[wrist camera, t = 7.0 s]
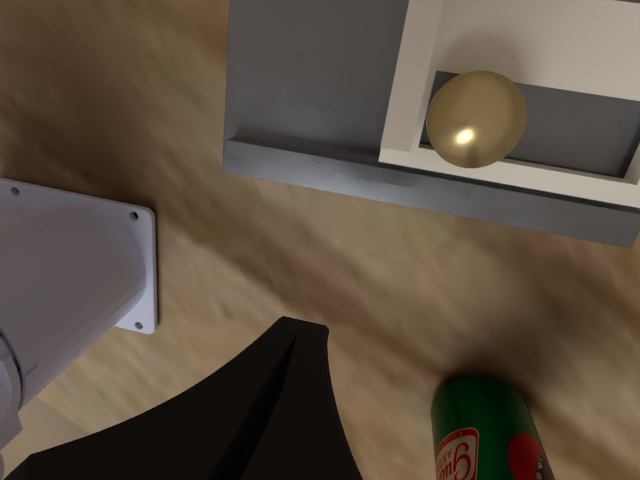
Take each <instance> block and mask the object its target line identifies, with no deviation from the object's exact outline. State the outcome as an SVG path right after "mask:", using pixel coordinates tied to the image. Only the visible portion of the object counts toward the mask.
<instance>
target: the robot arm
mask: <svg viewBox="0 0 640 480" xmlns="http://www.w3.org/2000/svg"><path fill="white" fill-rule="evenodd" d="M17 189H18V190H19V192H18V191H17ZM134 212H136V213H137V214H138V218H136V217H135V216H134ZM139 322H140V323H141V324H142V325H143V326H142V325H141V324H140V323H139ZM113 326H116V327H120V328H125V329H129V330H133V331H137V332H141V333H145V334H152V333H153V332H154V331H155V330H156V329H157V327H158V321H157V279H156V237H155V215H154V213H153V211H152V210H151V209H149V208H147V207H143V206H138V205H133V204H128V203H123V202H118V201H114V200H109V199H104V198H99V197H94V196H89V195H84V194H79V193H74V192H69V191H64V190H60V189H55V188H50V187H45V186H40V185H35V184H30V183H25V182H20V181H15V180H10V179H6V178H0V451H1V450H2V449H3V448H4V447H5V446H6V445H7V444H8V443H9V442H10V441H11V440H12V439H13V438H14V437H15V436H16V435H17V434H19V433H20V432H21V431H22V429H23V427H22V425H21V422H20V420H19V417H18V411H19V410H20V409H22V408H23V407H24V406H25V405H26V404H27V403H28V402H29V401H31V400H32V399H33V398H34V397H35V396H36V395H37V394H38V393H39V392H41V391H42V390H43V389H44V388H45V387H46V386H47V385H48V384H50V383H51V382H52V381H53V380H54V379H55V378H56V377H57V376H59V375H60V374H61V373H62V372H63V371H64V370H65V369H66V368H67V367H69V366H70V365H71V364H72V363H73V362H74V361H75V360H76V359H78V358H79V357H80V356H81V355H82V354H83V353H84V352H85V351H86V350H88V349H89V348H90V347H91V346H92V345H93V344H94V343H95V342H97V341H98V340H99V339H100V338H101V337H102V336H103V335H104V334H105V333H107V332H108V331H109V330H110V329H111V328H112V327H113ZM328 335H329V329H328V328H327V326H325V325H321V324H316V323H312V322H307V321H303V320H299V319H294V318H290V317H285V316H283V317H281V318H279V319H278V320H277V321H276V322H275V323H274V324H273V325H272V326H271V327H270V328H269V329H268V330H267V331H265V332H264V333H263V334H262V335H261V336H260V337H259V338H258V339H257V340H255V341H254V342H253V343H252V344H251V345H249V346H248V347H247V348H246V349H244V350H243V351H242V352H241V353H240V354H238V355H237V356H236V357H235V358H233V359H232V360H231V361H229V362H228V363H226V364H225V365H224V366H222V367H221V368H219V369H218V370H217V371H215V372H214V373H213V374H211V375H210V376H208V377H207V378H205V379H204V380H202V381H200V382H199V383H197V384H196V385H194V386H192V387H191V388H189V389H187V390H186V391H184V392H182V393H181V394H179V395H177V396H175V397H173V398H171V399H170V400H168V401H166V402H164V403H162V404H160V405H158V406H156V407H154V408H152V409H150V410H148V411H146V412H144V413H142V414H140V415H138V416H135V417H133V418H131V419H129V420H126V421H124V422H122V423H119V424H117V425H114V426H112V427H109V428H107V429H104V430H102V431H99V432H96V433H94V434H91V435H88V436H86V437H83V438H80V439H77V440H74V441H71V442H68V443H65V444H62V445H59V446H56V447H53V448H50V449H47V450H44V451H41V452H37V453H34V454H31V455H29V456H28V457H27V458H26V459H25V460H24V461H23V462H22V463H21V464H20V465H19V466H18V467H16V468H15V469H14V470H13V471H12V472H11V473H10V474H9V475H8V476H7V477H6V478H5V479H4V480H363V479H362V476H361V474H360V472H359V470H358V467H357V465H356V463H355V460H354V458H353V456H352V453H351V450H350V447H349V445H348V442H347V439H346V436H345V433H344V430H343V427H342V424H341V421H340V417H339V414H338V410H337V406H336V402H335V398H334V393H333V389H332V384H331V377H330V371H329V364H328V351H327V341H328ZM4 466H5V465H4V461H3V457H2V455H1V454H0V480H2V478H3V475H4Z"/></svg>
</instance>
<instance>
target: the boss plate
mask: <svg viewBox="0 0 640 480" xmlns="http://www.w3.org/2000/svg"><path fill="white" fill-rule="evenodd" d="M616 1H624V2H632V3H640V0H616ZM408 4H409V0H230V8H229V31H228V53H227V76H226V98H225V121H224V143H223V166H222V171H224V172H229V173H234V174H240V175H245V176H250V177H256V178H261V179H266V180H271V181H277V182H282V183H287V184H293V185H298V186H303V187H308V188H314V189H319V190H324V191H330V192H335V193H340V194H345V195H351V196H356V197H361V198H367V199H372V200H377V201H382V202H388V203H393V204H398V205H404V206H409V207H414V208H419V209H425V210H430V211H435V212H441V213H446V214H451V215H456V216H462V217H467V218H472V219H478V220H483V221H488V222H493V223H499V224H504V225H509V226H515V227H520V228H525V229H530V230H536V231H541V232H546V233H552V234H557V235H562V236H567V237H573V238H578V239H583V240H589V241H594V242H599V243H605V244H610V245H615V246H620V247H626V248H632V246H633V244H634V241H635V239H636V237H637V235H638V233H639V231H640V208H637V207H631V206H625V205H620V204H614V203H609V202H603V201H597V200H592V199H586V198H581V197H575V196H569V195H564V194H558V193H553V192H547V191H541V190H536V189H530V188H525V187H519V186H513V185H508V184H502V183H497V182H491V181H485V180H480V179H474V178H469V177H463V176H457V175H452V174H446V173H441V172H435V171H429V170H424V169H418V168H413V167H407V166H401V165H396V164H390V163H385V162H379V156H380V151H381V147H380V146H381V141H382V136H383V131H384V126H385V121H386V116H387V111H388V106H389V101H390V96H391V90H392V85H393V80H394V75H395V70H396V65H397V60H398V55H399V50H400V45H401V40H402V35H403V30H404V24H405V19H406V14H407V9H408ZM639 143H640V101H635V100H628V99H622V98H615V97H609V96H602V95H595V94H589V93H582V92H576V91H569V90H562V89H556V88H549V87H543V86H536V85H529V84H523V83H516V82H512V81H511V80H510V79H509V78H507V77H505V76H503V75H501V74H499V73H495V72H491V71H470V72H466V73H463V74H457V73H450V72H444V71H437V70H436V73H435V78H434V82H433V86H432V91H431V95H430V99H429V103H428V108H427V112H426V116H425V121H424V125H423V129H422V133H421V138H420V142H419V144H424V145H430V146H433V148H434V150H435V151H436V152H437V154H438V155H439V156H440V157H441V158H443V159H444V160H445V161H447V162H448V163H450V164H452V165H455V166H458V167H462V168H481V167H485V166H488V165H491V164H493V163H495V162H497V161H499V160H501V159H502V158H506V159H512V160H518V161H523V162H529V163H535V164H541V165H547V166H553V167H558V168H564V169H570V170H576V171H582V172H588V173H593V174H599V175H605V176H611V177H617V178H622V179H624V177H625V174H626V172H627V170H628V168H629V165H630V163H631V161H632V159H633V157H634V154H635V152H636V150H637V148H638V145H639Z"/></svg>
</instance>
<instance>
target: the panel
mask: <svg viewBox="0 0 640 480" xmlns="http://www.w3.org/2000/svg"><path fill="white" fill-rule="evenodd" d="M436 70H437V71H444V72H450V73H457V74H463V73H466V72H470V71H491V72H495V73H499V74H501V75H503V76H505V77H507V78H509V79H510V80H511V81H512V82H516V83H523V84H529V85H536V86H543V87H549V88H556V89H562V90H569V91H576V92H582V93H589V94H595V95H602V96H609V97H615V98H622V99H628V100H635V101H640V3H632V2H624V1H616V0H409V4H408V9H407V14H406V19H405V24H404V30H403V35H402V40H401V45H400V50H399V55H398V60H397V65H396V70H395V75H394V80H393V85H392V90H391V96H390V101H389V106H388V111H387V116H386V121H385V126H384V131H383V136H382V141H381V146H380V147H381V151H380V156H379V162H385V163H390V164H396V165H401V166H407V167H413V168H418V169H424V170H429V171H435V172H441V173H446V174H452V175H457V176H463V177H469V178H474V179H480V180H485V181H491V182H497V183H502V184H508V185H513V186H519V187H525V188H530V189H536V190H541V191H547V192H553V193H558V194H564V195H569V196H575V197H581V198H586V199H592V200H597V201H603V202H609V203H614V204H620V205H625V206H631V207H637V208H640V143H639V145H638V148H637V150H636V152H635V154H634V157H633V159H632V161H631V163H630V165H629V168H628V170H627V172H626V174H625V177H624V179H622V178H617V177H611V176H605V175H599V174H593V173H588V172H582V171H576V170H570V169H564V168H558V167H553V166H547V165H541V164H535V163H529V162H523V161H518V160H512V159H506V158H502V159H501V160H499V161H497V162H495V163H493V164H491V165H488V166H485V167H481V168H462V167H458V166H455V165H452V164H450V163H448V162H447V161H445V160H444V159H443V158H441V157H440V156H439V155H438V154H437V152H436V151H435V150H434V148H433V146H430V145H424V144H419V142H420V138H421V133H422V129H423V125H424V121H425V116H426V112H427V108H428V103H429V99H430V95H431V91H432V86H433V82H434V78H435V73H436Z"/></svg>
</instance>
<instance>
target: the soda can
mask: <svg viewBox="0 0 640 480" xmlns="http://www.w3.org/2000/svg"><path fill="white" fill-rule="evenodd" d="M431 421H432V433H433V445H434V457H435V469H436V480H555V478H554V475H553V473H552V470H551V467H550V464H549V462H548V459H547V456H546V454H545V451H544V448H543V446H542V443H541V440H540V438H539V435H538V432H537V429H536V427H535V424H534V421H533V419H532V416H531V413H530V411H529V408H528V405H527V403H526V401H525V399H524V397H523V396H522V395H521V394H520V393H519V392H518V391H517V390H516V389H515V388H514V387H512V386H510V385H509V384H507V383H505V382H503V381H500V380H497V379H494V378H491V377H485V376H469V377H464V378H460V379H457V380H455V381H453V382H451V383H449V384H448V385H446V386H445V387H444V388H442V389H441V390H440V391H439V392H438V394H437V395H436V396H435V398H434V400H433V402H432V406H431Z"/></svg>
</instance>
